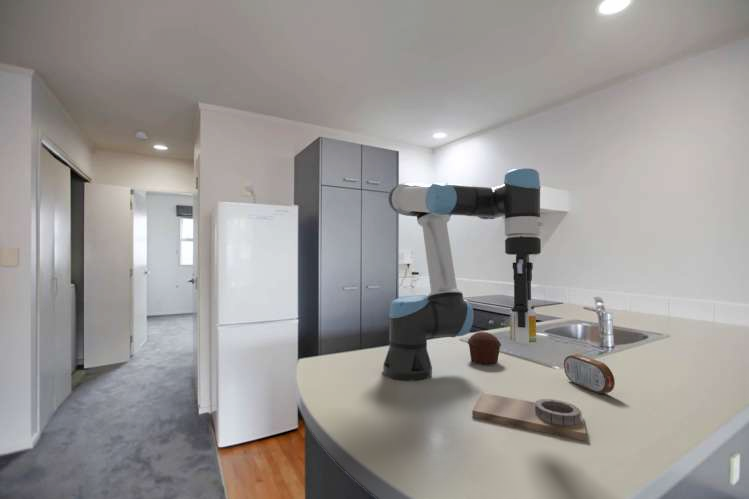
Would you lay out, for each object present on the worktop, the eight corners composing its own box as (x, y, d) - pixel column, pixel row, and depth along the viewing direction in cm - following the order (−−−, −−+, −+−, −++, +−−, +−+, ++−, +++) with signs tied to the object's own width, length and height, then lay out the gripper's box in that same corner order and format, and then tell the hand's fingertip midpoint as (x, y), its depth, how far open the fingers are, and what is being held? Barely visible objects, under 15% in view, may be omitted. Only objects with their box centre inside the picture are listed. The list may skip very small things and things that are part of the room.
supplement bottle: (541, 345, 77) (541, 300, 78) (520, 346, 76) (520, 301, 77) (525, 340, 83) (525, 298, 83) (505, 341, 81) (505, 298, 82)
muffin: (462, 357, 128) (462, 329, 129) (491, 356, 130) (491, 329, 130) (475, 367, 117) (475, 336, 117) (507, 366, 118) (507, 336, 118)
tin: (615, 397, 92) (615, 365, 92) (606, 398, 91) (606, 366, 92) (570, 378, 107) (570, 350, 107) (561, 379, 106) (561, 351, 106)
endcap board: (472, 417, 79) (472, 401, 79) (481, 398, 90) (481, 384, 90) (586, 441, 69) (586, 423, 69) (581, 417, 80) (581, 401, 80)
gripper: (537, 232, 71) (539, 349, 69) (542, 239, 87) (543, 334, 86) (498, 234, 74) (499, 345, 73) (510, 240, 90) (511, 331, 89)
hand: (523, 339), depth 79 cm, fingers closed on supplement bottle, 5 cm apart
